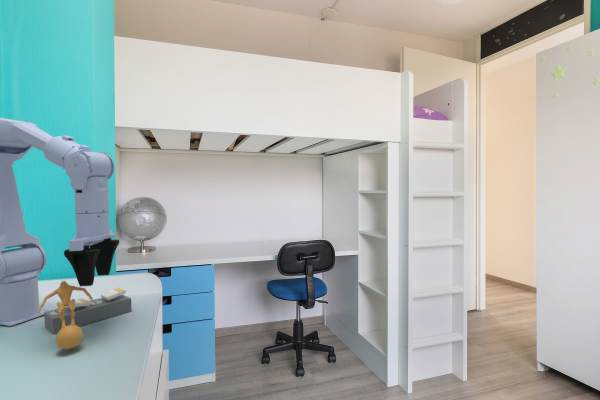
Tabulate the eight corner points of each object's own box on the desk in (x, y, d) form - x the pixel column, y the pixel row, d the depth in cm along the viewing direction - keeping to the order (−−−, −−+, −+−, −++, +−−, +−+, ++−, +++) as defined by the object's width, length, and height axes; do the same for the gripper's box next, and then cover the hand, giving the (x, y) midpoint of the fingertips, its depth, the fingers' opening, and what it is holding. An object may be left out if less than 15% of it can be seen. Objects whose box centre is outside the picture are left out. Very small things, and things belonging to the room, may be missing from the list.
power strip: (53, 334, 67) (52, 317, 66) (44, 326, 70) (44, 310, 70) (131, 311, 78) (131, 297, 78) (120, 305, 82) (119, 292, 82)
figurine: (39, 359, 55) (30, 285, 57) (45, 354, 60) (37, 287, 62) (98, 341, 60) (88, 273, 62) (99, 338, 65) (90, 276, 67)
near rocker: (67, 309, 69) (68, 303, 69) (61, 306, 72) (62, 300, 72) (89, 307, 72) (90, 301, 72) (83, 304, 75) (84, 298, 75)
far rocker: (108, 302, 75) (107, 297, 75) (102, 299, 78) (100, 294, 77) (126, 294, 78) (125, 289, 78) (119, 291, 81) (118, 287, 80)
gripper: (97, 215, 61) (101, 289, 61) (127, 209, 75) (129, 269, 76) (54, 216, 60) (58, 292, 60) (92, 210, 74) (95, 271, 75)
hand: (95, 280), depth 68 cm, fingers open, 7 cm apart
